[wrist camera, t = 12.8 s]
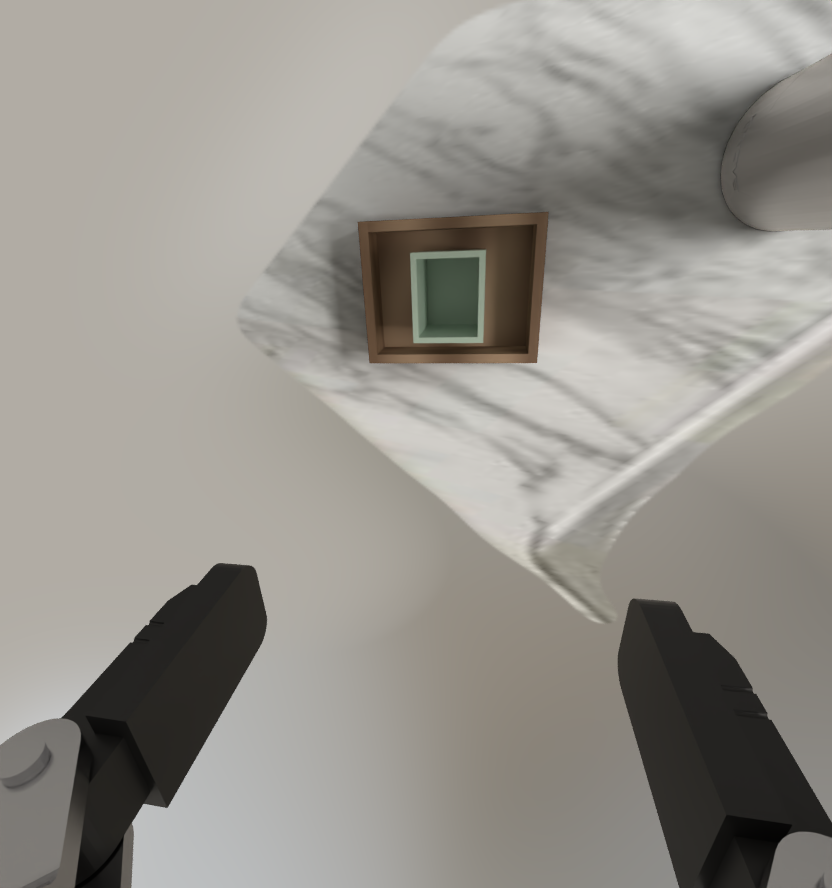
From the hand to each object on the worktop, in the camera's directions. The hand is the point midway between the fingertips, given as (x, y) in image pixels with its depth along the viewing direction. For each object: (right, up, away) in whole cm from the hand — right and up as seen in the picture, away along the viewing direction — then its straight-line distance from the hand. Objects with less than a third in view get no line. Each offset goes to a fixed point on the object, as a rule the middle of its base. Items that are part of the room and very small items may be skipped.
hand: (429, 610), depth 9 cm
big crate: (+3, +16, +26) cm, 31 cm away
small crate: (+3, +16, +26) cm, 31 cm away
